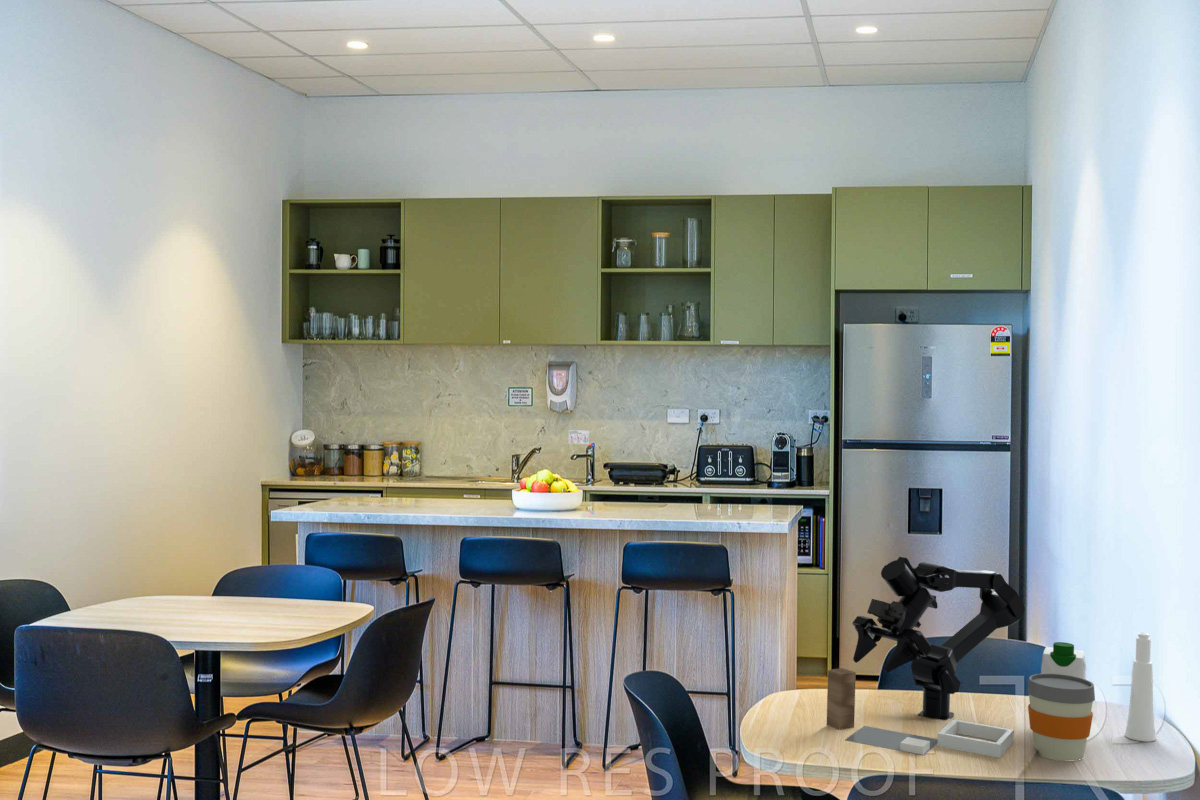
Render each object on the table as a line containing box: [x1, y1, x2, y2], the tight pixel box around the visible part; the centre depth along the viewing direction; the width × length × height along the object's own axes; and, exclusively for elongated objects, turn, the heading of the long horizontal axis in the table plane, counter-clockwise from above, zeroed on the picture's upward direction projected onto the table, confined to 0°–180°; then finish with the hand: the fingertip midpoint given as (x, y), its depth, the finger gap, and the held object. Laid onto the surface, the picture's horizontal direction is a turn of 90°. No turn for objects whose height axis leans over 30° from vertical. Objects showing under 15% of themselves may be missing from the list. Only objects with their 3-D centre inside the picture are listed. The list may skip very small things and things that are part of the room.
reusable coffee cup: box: [1026, 673, 1096, 761], centre depth 228 cm, size 13×13×15 cm
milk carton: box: [1040, 641, 1087, 680], centre depth 240 cm, size 9×9×20 cm
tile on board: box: [900, 737, 930, 756], centre depth 225 cm, size 4×4×2 cm
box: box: [936, 718, 1015, 759], centre depth 229 cm, size 12×12×4 cm
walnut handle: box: [826, 667, 857, 731], centre depth 239 cm, size 4×4×13 cm
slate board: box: [844, 725, 938, 756], centre depth 231 cm, size 12×16×2 cm
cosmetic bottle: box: [1124, 632, 1157, 743], centre depth 242 cm, size 6×6×22 cm
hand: (869, 666), depth 243 cm, fingers open, 9 cm apart
